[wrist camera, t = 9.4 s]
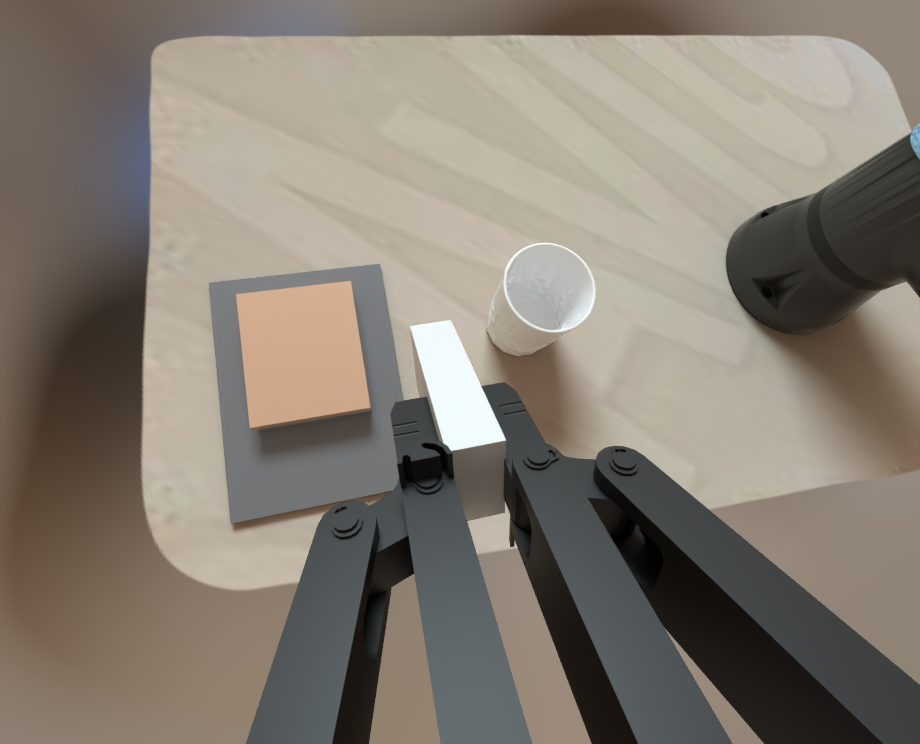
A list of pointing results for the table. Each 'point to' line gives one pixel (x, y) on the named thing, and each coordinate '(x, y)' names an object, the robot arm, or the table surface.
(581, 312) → the white cup
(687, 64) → the table surface
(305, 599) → the robot arm
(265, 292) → the tile
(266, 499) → the mat
